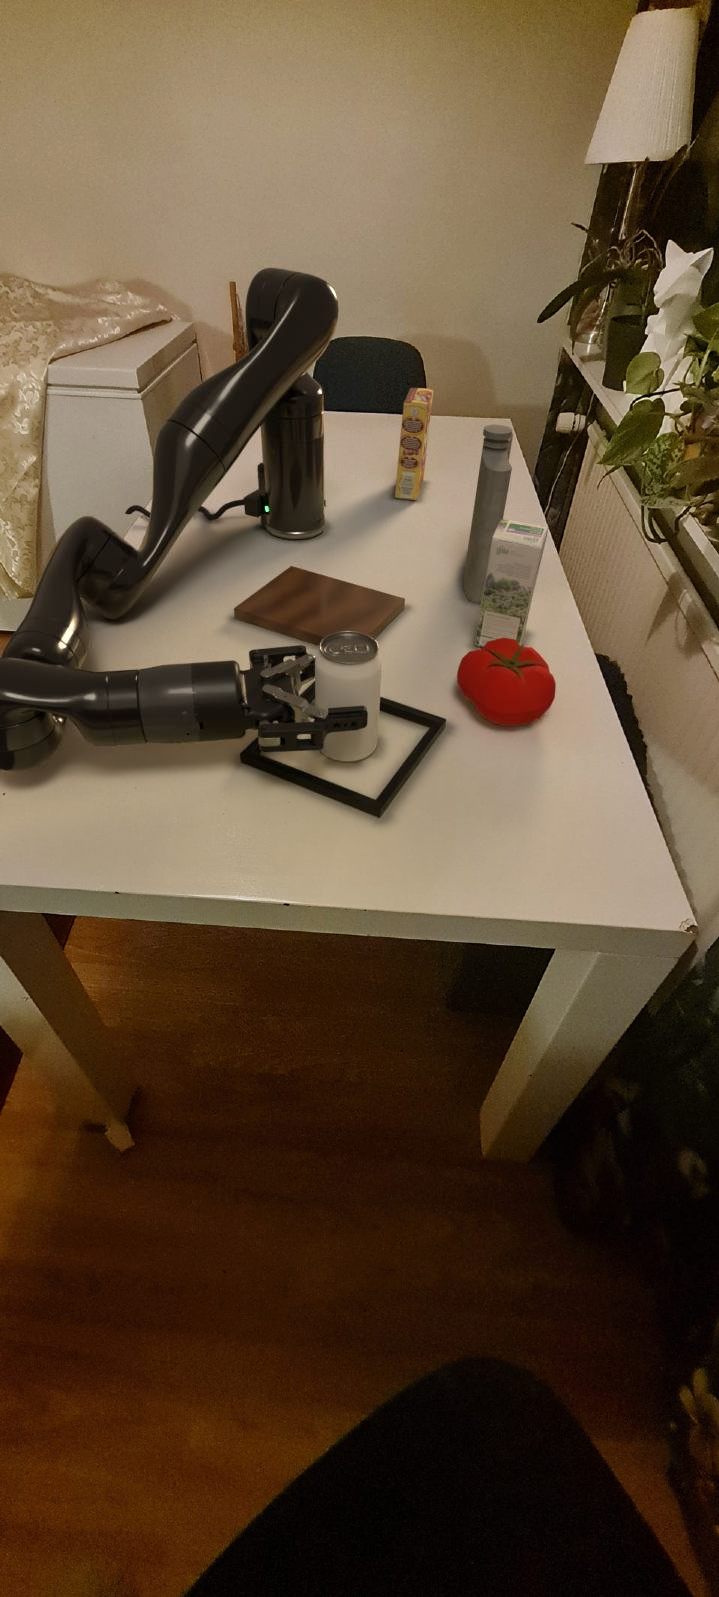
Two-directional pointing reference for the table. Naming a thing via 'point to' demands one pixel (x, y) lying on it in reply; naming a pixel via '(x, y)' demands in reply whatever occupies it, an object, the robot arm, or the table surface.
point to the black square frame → (343, 794)
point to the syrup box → (510, 581)
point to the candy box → (413, 443)
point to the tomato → (507, 682)
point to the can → (349, 690)
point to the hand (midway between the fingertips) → (359, 690)
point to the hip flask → (487, 506)
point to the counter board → (318, 606)
